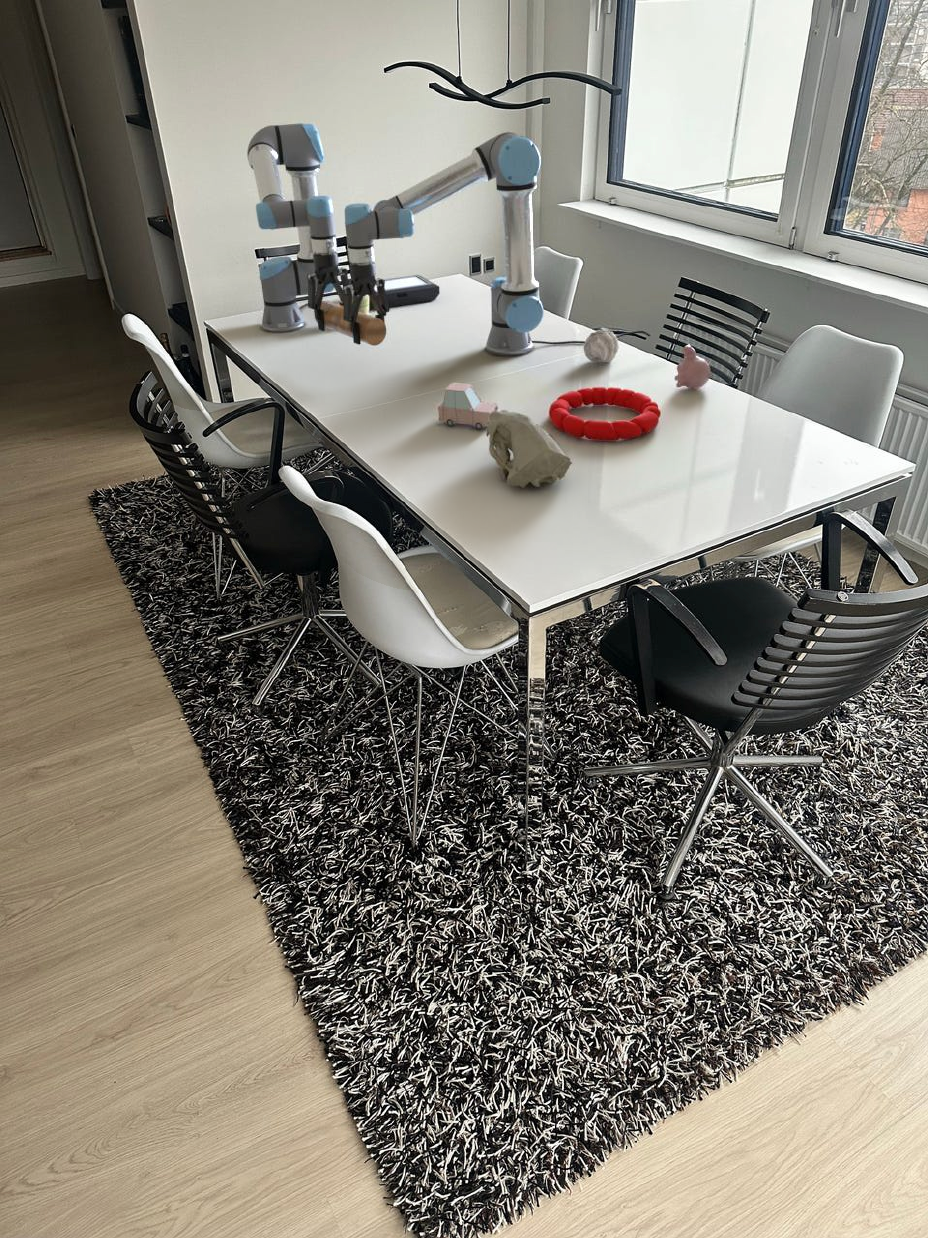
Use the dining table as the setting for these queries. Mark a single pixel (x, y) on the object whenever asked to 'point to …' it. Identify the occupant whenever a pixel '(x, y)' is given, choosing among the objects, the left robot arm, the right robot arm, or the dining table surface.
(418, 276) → the electronic device
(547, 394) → the dining table surface
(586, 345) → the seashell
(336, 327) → the brown cylinder
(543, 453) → the grey irregular stone chunk
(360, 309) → the coffee cup
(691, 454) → the dining table surface
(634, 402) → the decorative ring
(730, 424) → the dining table surface
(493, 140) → the right robot arm
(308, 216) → the left robot arm
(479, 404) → the toy car
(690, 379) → the figurine
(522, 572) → the dining table surface
